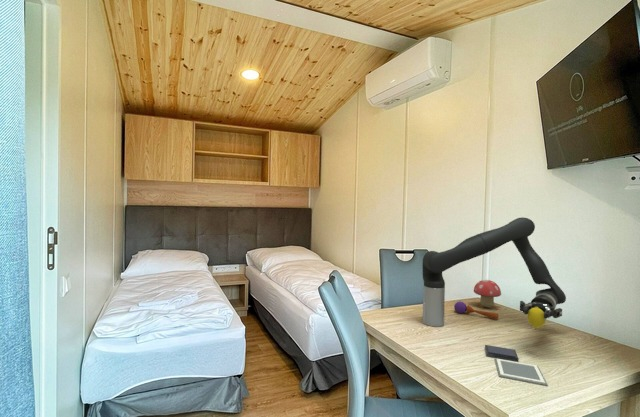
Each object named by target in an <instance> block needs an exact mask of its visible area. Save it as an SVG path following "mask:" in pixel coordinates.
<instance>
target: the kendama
mask: <svg viewBox="0 0 640 417" xmlns="http://www.w3.org/2000/svg"><path fill="white" fill-rule="evenodd" d="M454 310H455V312H456V313H458V314H465V313H466V314H472V313H475V314H479V315H482V316H484V317H487V318H490V319H492V320H495V321H498V319H499V313H498V312H491V311H483V310H477V309H475V308H473V307H471V306H470V305H469V304H466V303H465V302H464V301H462V300H461V301H459V300H458V301H457V302H455V304H454Z"/></svg>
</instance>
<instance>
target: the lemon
mask: <svg viewBox="0 0 640 417" xmlns="http://www.w3.org/2000/svg"><path fill="white" fill-rule="evenodd" d="M526 316H527V317H526V318H527V321H528V323H529V324H530V325H531V326H532V327H533V328H534V329H536V330H537V329H539V328H541V327H543V326H544V325H545V323H546V319H544V312H543V311H542V310H541V309H539V308H538V307H535V308H531V309H530V310H529V312H528V314H527V315H526Z"/></svg>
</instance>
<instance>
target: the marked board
mask: <svg viewBox="0 0 640 417" xmlns="http://www.w3.org/2000/svg"><path fill="white" fill-rule="evenodd" d="M494 362H495V366H496V371H497V374H498V377H499V378H502V379H508V380H512V381H519V382H524V383H529V384H535V385H540V386H545V387H549V384H548V383H547V381H546V379H545V377H544V374H543V373H542V371H541V368H540V367H539V365H536V364H532V363H531V364H530V363H525V362H520V361H519V362H515V361H509V360H504V359H498V358H494Z"/></svg>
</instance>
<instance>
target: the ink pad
mask: <svg viewBox="0 0 640 417" xmlns="http://www.w3.org/2000/svg"><path fill="white" fill-rule="evenodd" d="M484 350H485V354H486V357H487V358H493V359H502V360H508V361H514V362H519V363H520V361H519V357H518V355H517V354H518V353H517V351H516V349H513V348H508V347H502V346H496V345H495V346H494V345H490V344H484Z"/></svg>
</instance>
